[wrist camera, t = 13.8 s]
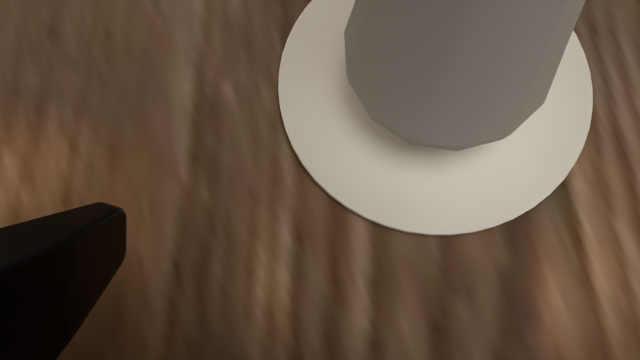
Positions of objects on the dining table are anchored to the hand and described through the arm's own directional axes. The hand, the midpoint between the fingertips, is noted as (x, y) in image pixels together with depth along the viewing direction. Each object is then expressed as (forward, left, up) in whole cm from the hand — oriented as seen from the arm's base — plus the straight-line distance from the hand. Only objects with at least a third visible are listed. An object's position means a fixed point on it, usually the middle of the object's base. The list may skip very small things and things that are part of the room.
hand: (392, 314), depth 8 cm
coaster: (+8, -1, -7) cm, 11 cm away
